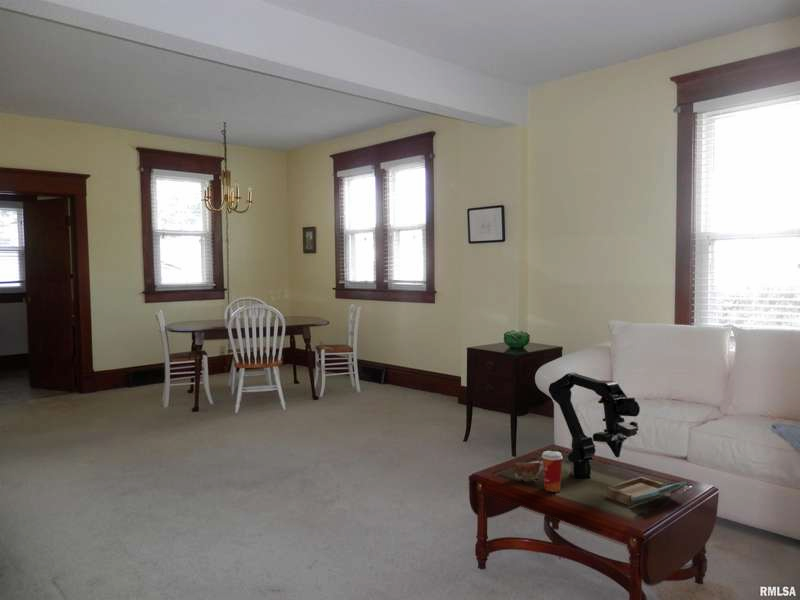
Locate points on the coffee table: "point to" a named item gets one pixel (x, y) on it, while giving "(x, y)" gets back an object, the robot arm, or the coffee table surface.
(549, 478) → the paper cup
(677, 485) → the tailgate
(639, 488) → the tray
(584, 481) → the coffee table surface
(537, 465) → the bull figurine
